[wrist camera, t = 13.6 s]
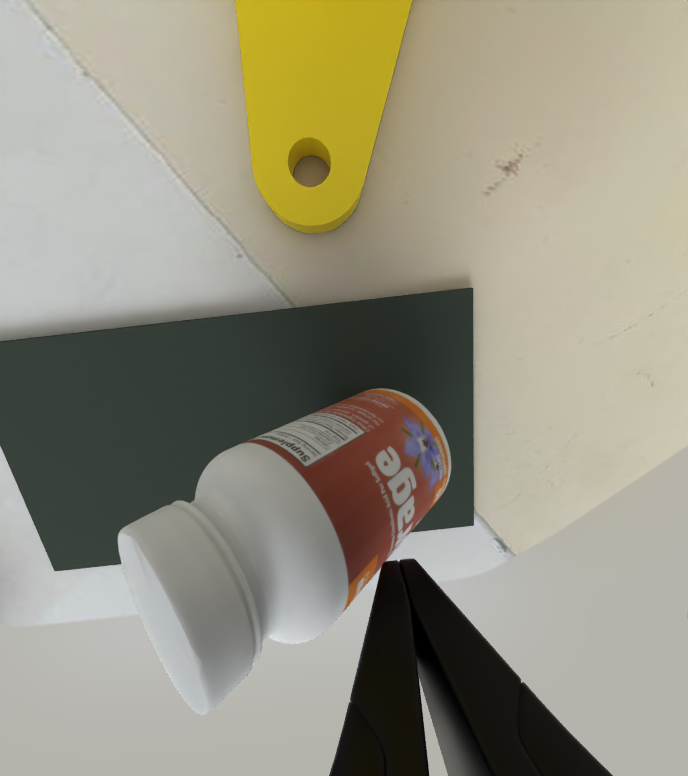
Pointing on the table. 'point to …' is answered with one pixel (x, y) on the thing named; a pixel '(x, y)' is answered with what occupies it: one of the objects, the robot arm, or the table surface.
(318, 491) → the pill bottle
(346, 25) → the crank
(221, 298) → the table surface
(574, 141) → the table surface
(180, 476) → the mat
